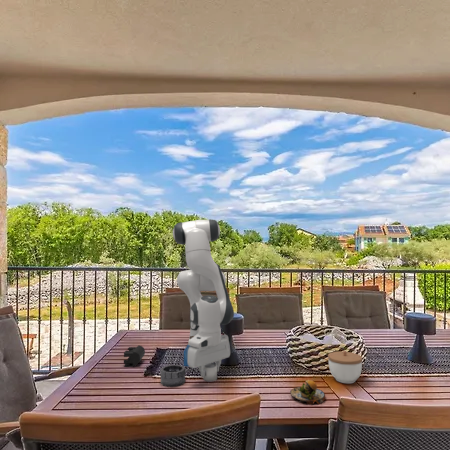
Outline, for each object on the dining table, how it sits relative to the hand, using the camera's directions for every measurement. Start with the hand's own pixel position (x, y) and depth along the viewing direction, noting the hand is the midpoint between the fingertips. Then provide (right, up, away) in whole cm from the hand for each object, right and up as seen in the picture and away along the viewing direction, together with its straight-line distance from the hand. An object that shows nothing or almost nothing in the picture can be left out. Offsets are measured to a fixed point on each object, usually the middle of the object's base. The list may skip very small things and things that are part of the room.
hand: (209, 373), depth 145 cm
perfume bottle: (-8, -3, +17) cm, 19 cm away
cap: (0, -2, 0) cm, 2 cm away
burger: (+34, -1, -18) cm, 39 cm away
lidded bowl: (+52, -2, -2) cm, 52 cm away
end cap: (-34, -3, +19) cm, 39 cm away
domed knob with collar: (-14, -2, -3) cm, 15 cm away
